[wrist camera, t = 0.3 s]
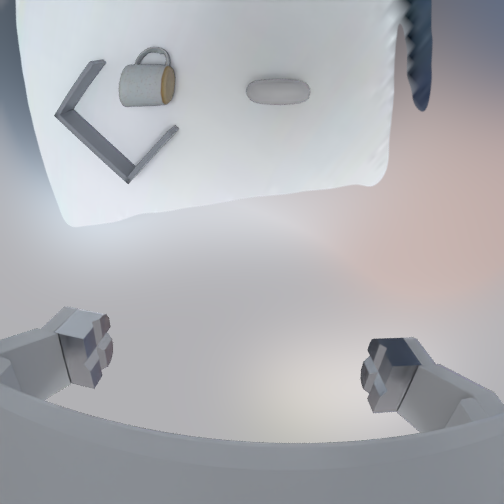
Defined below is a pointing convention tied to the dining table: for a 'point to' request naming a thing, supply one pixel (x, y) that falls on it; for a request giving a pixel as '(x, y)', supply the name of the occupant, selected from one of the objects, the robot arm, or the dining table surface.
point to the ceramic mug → (147, 82)
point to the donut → (278, 91)
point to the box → (92, 136)
